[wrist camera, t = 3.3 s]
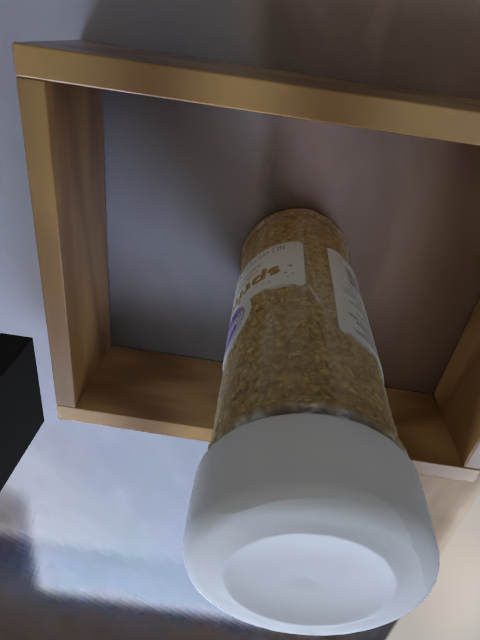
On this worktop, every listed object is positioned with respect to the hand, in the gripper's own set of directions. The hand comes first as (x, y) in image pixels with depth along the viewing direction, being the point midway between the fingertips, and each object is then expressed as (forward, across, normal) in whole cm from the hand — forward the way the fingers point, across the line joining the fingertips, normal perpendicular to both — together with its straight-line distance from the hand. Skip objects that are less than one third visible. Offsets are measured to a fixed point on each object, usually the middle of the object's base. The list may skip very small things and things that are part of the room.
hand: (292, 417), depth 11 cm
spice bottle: (+10, 0, 0) cm, 10 cm away
